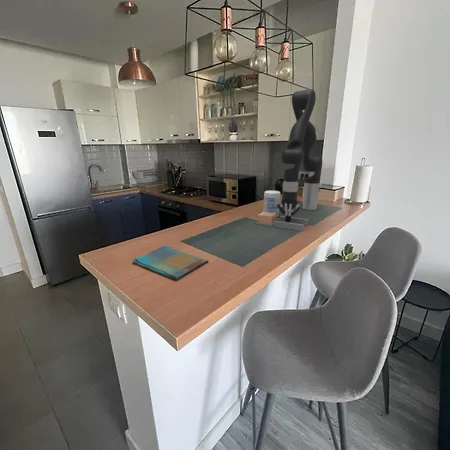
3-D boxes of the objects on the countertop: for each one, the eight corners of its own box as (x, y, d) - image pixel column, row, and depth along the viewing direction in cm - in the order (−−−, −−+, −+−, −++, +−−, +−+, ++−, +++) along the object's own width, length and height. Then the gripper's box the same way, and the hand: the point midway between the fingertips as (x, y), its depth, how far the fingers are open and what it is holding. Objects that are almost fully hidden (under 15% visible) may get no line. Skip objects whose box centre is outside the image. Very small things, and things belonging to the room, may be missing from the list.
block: (262, 220, 143) (262, 211, 142) (275, 222, 139) (276, 213, 138) (257, 223, 137) (257, 214, 136) (271, 225, 134) (272, 216, 132)
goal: (262, 218, 145) (262, 217, 145) (279, 220, 141) (279, 219, 140) (255, 224, 136) (255, 223, 135) (272, 226, 131) (272, 225, 131)
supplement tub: (267, 218, 144) (268, 193, 140) (260, 214, 153) (261, 191, 148) (282, 217, 147) (283, 192, 142) (274, 213, 156) (275, 189, 151)
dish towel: (166, 249, 106) (166, 243, 106) (209, 263, 93) (209, 257, 93) (132, 264, 93) (131, 258, 92) (176, 283, 80) (175, 276, 79)
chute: (280, 220, 140) (280, 215, 139) (307, 224, 133) (308, 219, 132) (273, 226, 131) (274, 221, 130) (302, 231, 124) (303, 225, 123)
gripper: (305, 189, 127) (302, 222, 132) (279, 187, 133) (278, 218, 139) (301, 192, 121) (298, 226, 126) (275, 190, 127) (273, 222, 132)
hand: (288, 222), depth 132 cm, fingers closed
